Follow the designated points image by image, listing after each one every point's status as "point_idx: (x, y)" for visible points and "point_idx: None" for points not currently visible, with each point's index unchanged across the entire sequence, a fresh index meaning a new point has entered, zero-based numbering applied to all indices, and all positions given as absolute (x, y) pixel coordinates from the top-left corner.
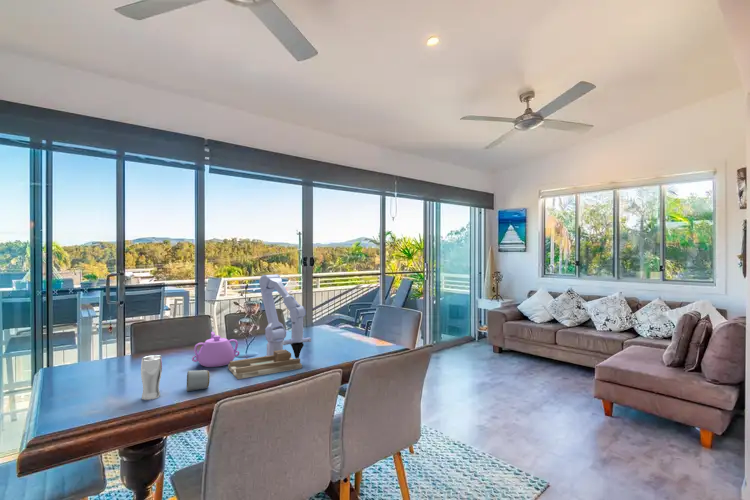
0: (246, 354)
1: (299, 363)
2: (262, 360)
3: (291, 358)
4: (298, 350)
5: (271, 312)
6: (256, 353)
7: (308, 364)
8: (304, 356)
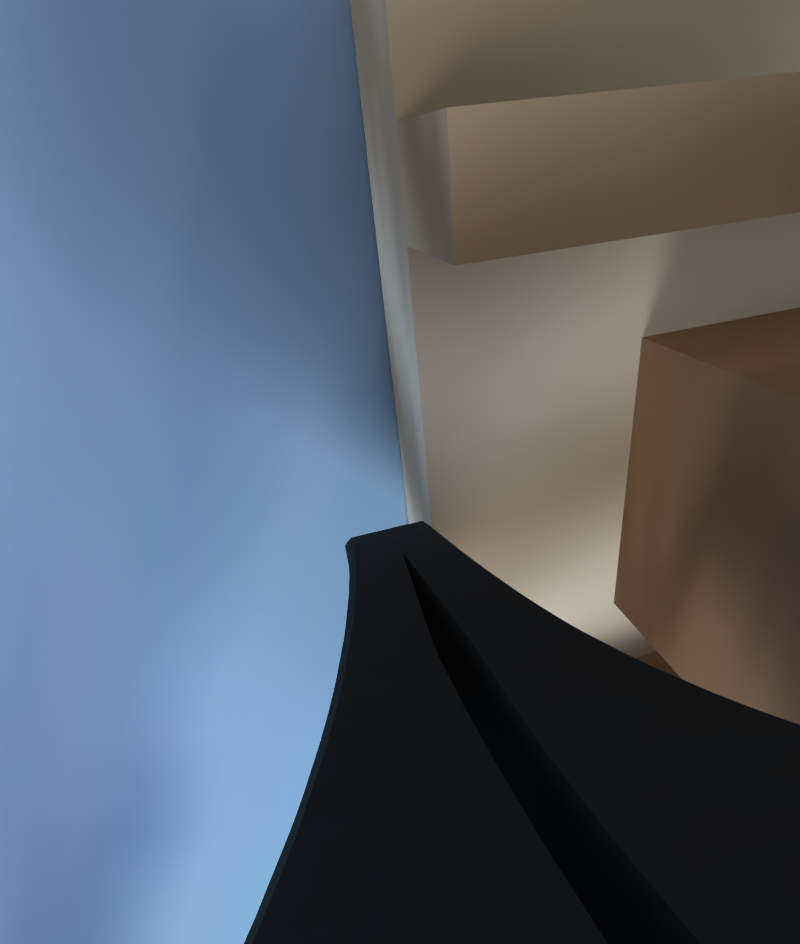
0: None
1: (433, 76)
2: None
3: None
4: (456, 714)
5: None
6: None
7: (55, 315)
8: (99, 869)
